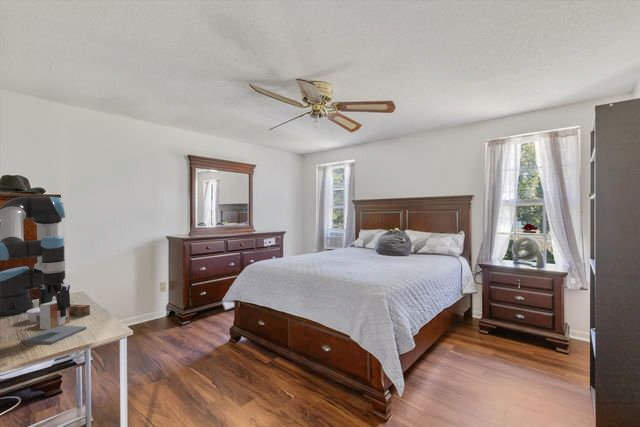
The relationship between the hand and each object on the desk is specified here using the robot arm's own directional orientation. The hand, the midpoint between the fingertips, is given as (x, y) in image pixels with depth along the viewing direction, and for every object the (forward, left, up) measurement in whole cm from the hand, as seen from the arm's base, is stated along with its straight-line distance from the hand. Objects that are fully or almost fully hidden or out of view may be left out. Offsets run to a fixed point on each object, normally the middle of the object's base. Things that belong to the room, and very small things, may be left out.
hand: (55, 323), depth 127 cm
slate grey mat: (0, 0, -5) cm, 5 cm away
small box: (0, 0, -1) cm, 1 cm away
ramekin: (-27, +16, -5) cm, 32 cm away
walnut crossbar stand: (-14, +16, -5) cm, 22 cm away
